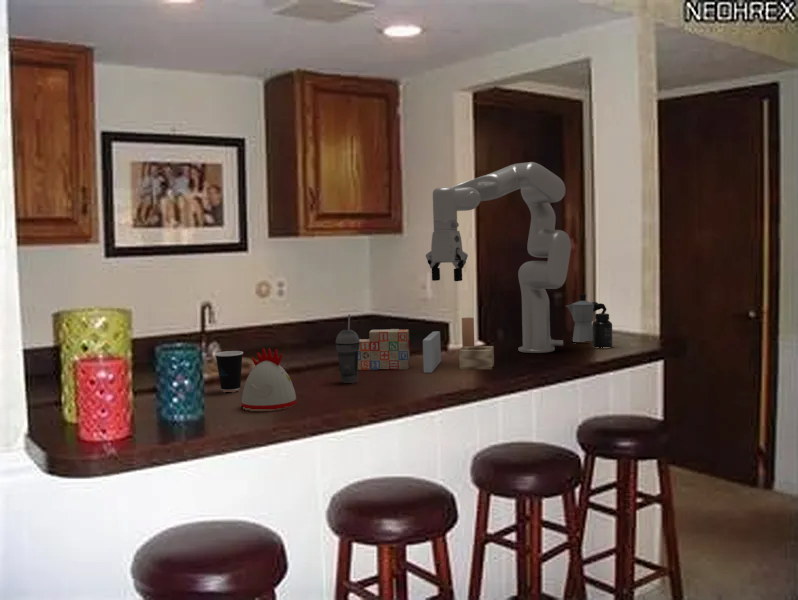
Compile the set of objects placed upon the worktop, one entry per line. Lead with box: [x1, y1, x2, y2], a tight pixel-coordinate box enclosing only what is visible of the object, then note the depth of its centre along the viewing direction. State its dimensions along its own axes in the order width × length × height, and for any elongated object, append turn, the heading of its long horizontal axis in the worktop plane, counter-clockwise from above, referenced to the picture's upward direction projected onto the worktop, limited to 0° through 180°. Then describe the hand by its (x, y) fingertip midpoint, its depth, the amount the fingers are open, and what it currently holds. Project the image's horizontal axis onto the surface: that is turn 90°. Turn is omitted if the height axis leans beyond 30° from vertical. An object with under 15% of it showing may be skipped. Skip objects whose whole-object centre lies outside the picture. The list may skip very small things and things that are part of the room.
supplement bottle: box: [592, 312, 614, 348], centre depth 295 cm, size 7×7×12 cm
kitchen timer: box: [241, 347, 297, 409], centre depth 213 cm, size 14×14×15 cm
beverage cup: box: [334, 314, 360, 384], centre depth 243 cm, size 7×7×20 cm
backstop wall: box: [422, 330, 442, 374], centre depth 266 cm, size 2×22×10 cm, turn 170°
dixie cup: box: [214, 350, 244, 391], centre depth 235 cm, size 8×8×11 cm
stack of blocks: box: [358, 328, 411, 371], centre depth 267 cm, size 21×6×12 cm, turn 84°
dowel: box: [461, 316, 475, 348], centre depth 277 cm, size 4×4×14 cm
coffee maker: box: [565, 294, 607, 342], centre depth 309 cm, size 15×9×18 cm, turn 81°
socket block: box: [458, 345, 495, 370], centre depth 263 cm, size 10×10×6 cm
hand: (447, 280), depth 266 cm, fingers open, 9 cm apart
